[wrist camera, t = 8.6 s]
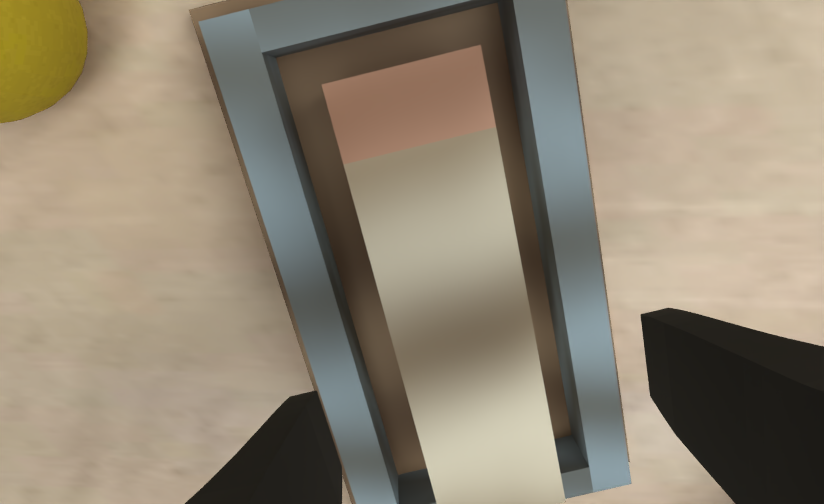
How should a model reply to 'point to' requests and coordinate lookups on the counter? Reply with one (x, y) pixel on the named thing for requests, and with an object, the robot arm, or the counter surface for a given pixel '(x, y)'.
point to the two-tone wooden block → (450, 274)
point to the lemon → (39, 54)
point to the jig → (342, 236)
